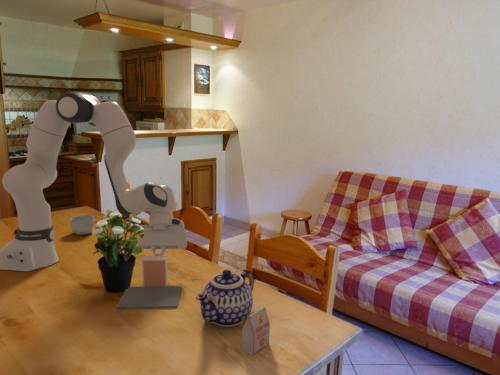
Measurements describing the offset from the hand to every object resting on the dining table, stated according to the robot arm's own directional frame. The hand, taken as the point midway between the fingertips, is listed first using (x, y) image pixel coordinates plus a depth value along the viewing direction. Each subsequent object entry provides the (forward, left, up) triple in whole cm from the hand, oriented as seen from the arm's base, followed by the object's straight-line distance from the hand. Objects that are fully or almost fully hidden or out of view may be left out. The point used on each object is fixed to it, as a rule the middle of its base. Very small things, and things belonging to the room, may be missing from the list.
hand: (157, 259), depth 140 cm
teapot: (+24, -29, -7) cm, 38 cm away
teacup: (-43, +55, -7) cm, 70 cm away
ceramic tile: (0, -6, -7) cm, 9 cm away
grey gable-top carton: (+31, -44, -7) cm, 54 cm away
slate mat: (0, -15, -7) cm, 17 cm away
